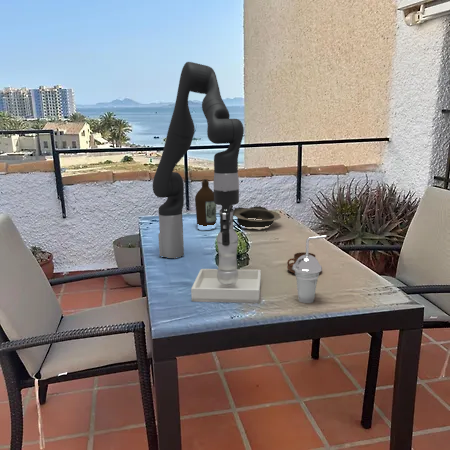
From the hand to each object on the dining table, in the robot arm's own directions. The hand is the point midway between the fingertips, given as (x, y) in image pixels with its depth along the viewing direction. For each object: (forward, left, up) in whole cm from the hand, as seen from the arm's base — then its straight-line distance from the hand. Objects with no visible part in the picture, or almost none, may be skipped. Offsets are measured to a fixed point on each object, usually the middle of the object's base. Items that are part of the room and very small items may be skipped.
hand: (227, 241), depth 132 cm
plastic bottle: (0, 0, -14) cm, 14 cm away
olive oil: (-19, +81, -16) cm, 85 cm away
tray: (0, 0, -16) cm, 16 cm away
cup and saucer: (+25, +19, -16) cm, 36 cm away
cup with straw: (+24, -6, -16) cm, 30 cm away
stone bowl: (+6, +87, -16) cm, 89 cm away
